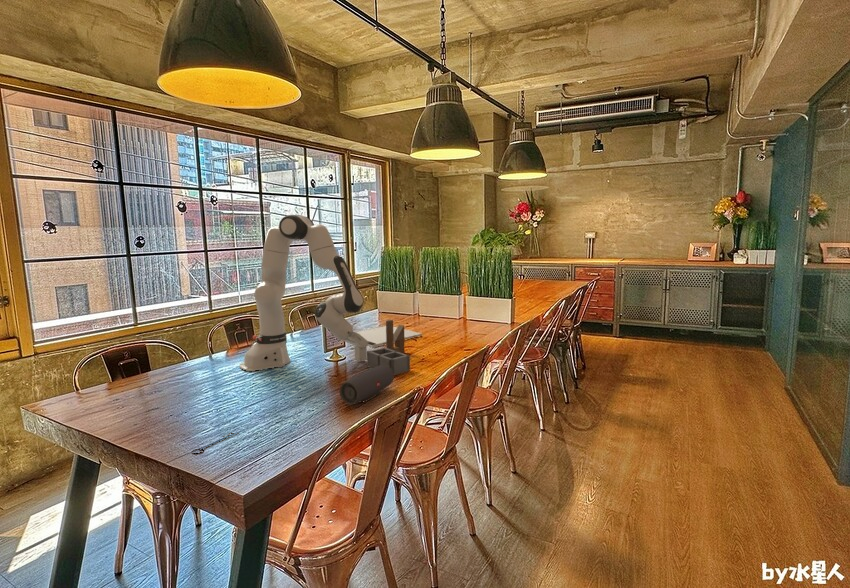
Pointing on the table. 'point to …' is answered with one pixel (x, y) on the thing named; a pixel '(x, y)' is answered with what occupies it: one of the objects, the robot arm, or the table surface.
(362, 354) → the clay bar
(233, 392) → the table surface
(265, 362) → the robot arm
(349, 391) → the bluetooth speaker
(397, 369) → the grey cinder block
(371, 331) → the white flat board
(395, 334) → the wooden block
